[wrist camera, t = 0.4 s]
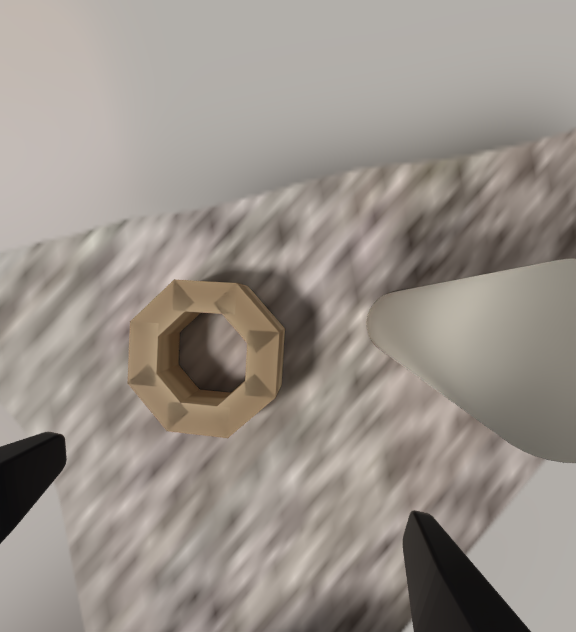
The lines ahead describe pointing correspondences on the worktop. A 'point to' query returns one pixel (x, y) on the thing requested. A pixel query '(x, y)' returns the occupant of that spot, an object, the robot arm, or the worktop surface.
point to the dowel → (494, 350)
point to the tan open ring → (174, 384)
